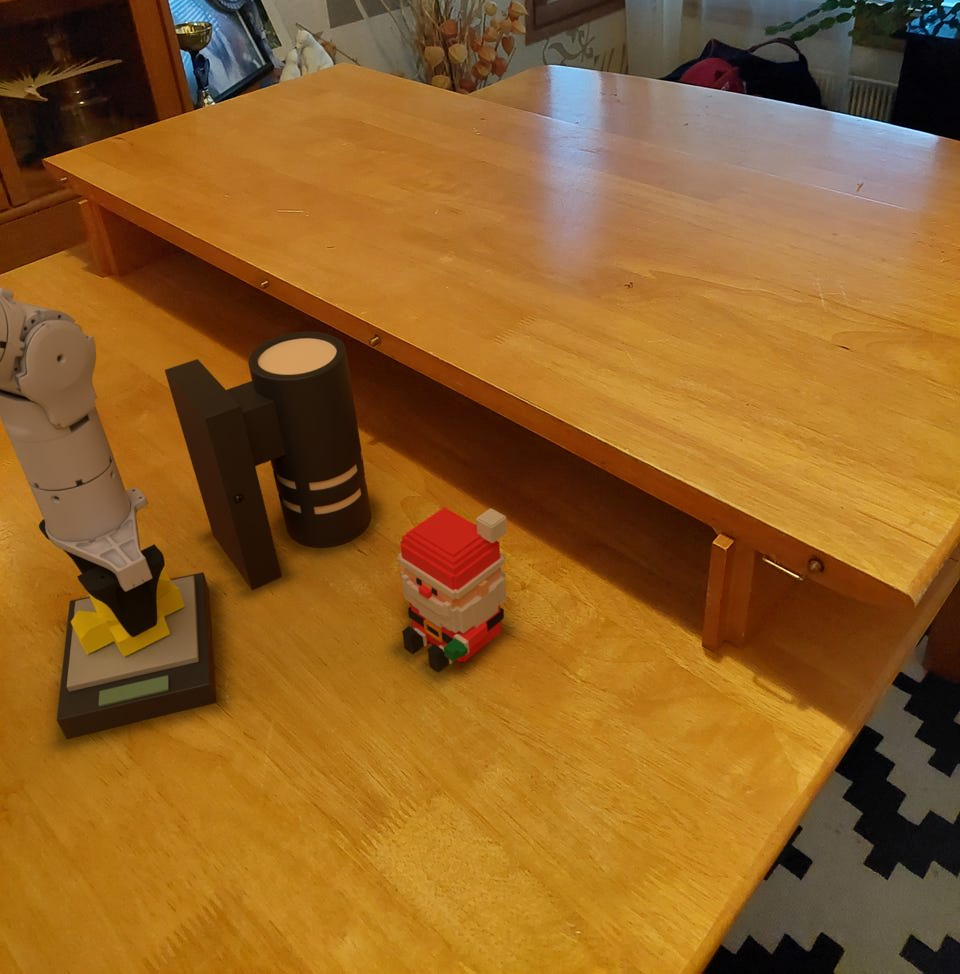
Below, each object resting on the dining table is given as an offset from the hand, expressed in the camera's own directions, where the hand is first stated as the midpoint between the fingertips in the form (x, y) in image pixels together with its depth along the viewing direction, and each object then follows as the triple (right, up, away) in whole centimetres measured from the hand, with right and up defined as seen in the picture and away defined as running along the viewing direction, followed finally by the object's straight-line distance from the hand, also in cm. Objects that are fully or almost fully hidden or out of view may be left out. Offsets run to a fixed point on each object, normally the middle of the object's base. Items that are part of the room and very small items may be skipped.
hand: (125, 607), depth 72 cm
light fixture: (+11, +5, +14) cm, 19 cm away
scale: (0, -4, +3) cm, 5 cm away
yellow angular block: (0, -2, +1) cm, 2 cm away
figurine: (+25, -3, +3) cm, 26 cm away
